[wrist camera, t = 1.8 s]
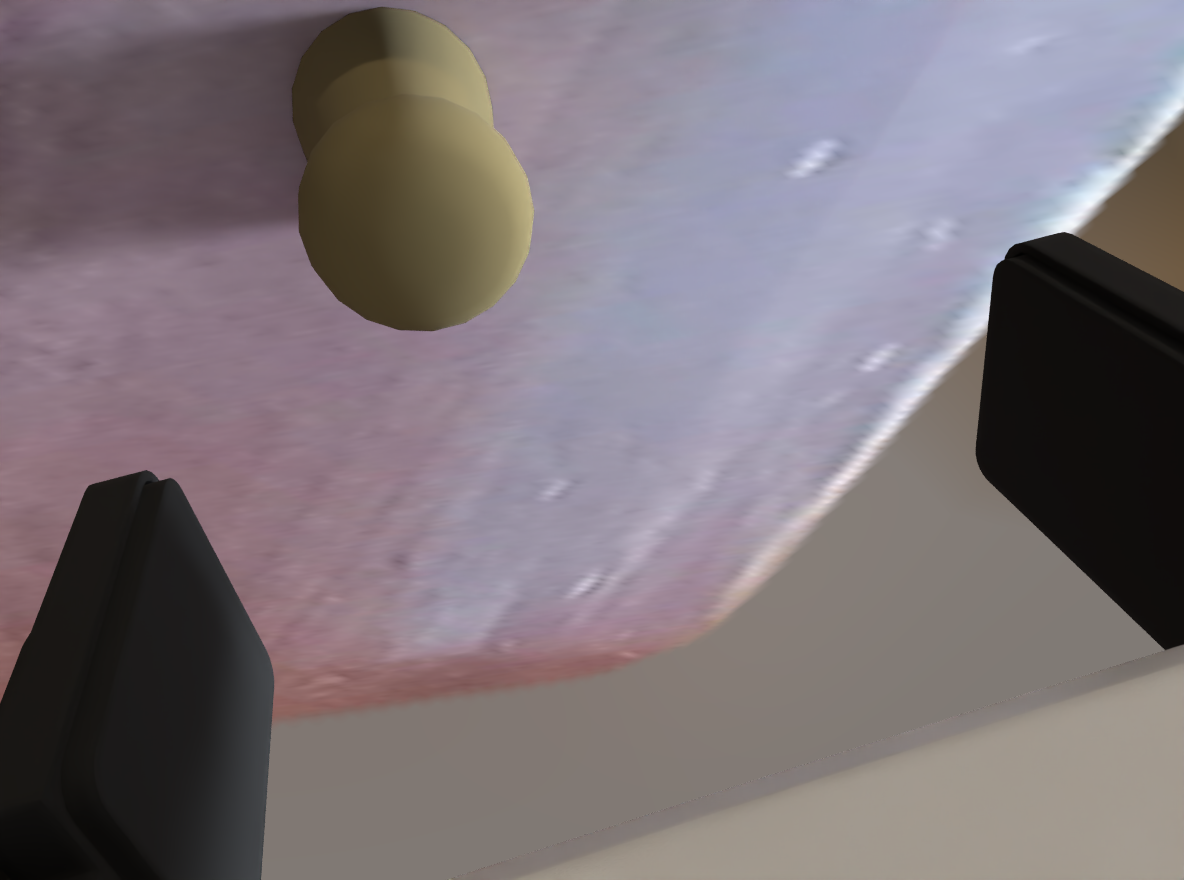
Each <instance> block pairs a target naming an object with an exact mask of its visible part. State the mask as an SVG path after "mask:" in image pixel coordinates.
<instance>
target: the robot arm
mask: <svg viewBox="0 0 1184 880" xmlns="http://www.w3.org/2000/svg"><path fill="white" fill-rule="evenodd" d="M976 458H977V462H978V465H979V468H980V470H981V472H982V473H983V475H984V476H985V478H986V479H987V480H988V481H989V482H990V483H991V484H992V485H993V486H994V487H995V488H996V489H997V490H998V491H999V492H1001V493H1002V494H1003V495H1004V496H1005V497H1006V498H1007V499H1008V500H1009V501H1010V502H1011V503H1012V504H1013V505H1014V506H1015V507H1016V508H1017V509H1018V510H1019V511H1020V512H1022V513H1023V514H1024V515H1025V516H1026V517H1027V518H1028V519H1029V520H1030V521H1031V522H1032V523H1033V524H1034V525H1035V526H1036V527H1037V528H1038V529H1039V530H1040V531H1041V532H1043V534H1044V535H1045V536H1047V537H1048V538H1049V539H1050V540H1051V541H1052V542H1053V543H1054V544H1055V545H1056V546H1057V547H1058V548H1059V549H1060V550H1061V551H1062V552H1063V553H1064V554H1065V555H1066V556H1067V557H1069V559H1071V560H1072V561H1073V562H1074V563H1075V564H1076V565H1077V566H1078V567H1079V568H1080V569H1081V570H1082V571H1083V572H1084V573H1086V575H1087V576H1088V577H1089V578H1090V579H1092V581H1094V582H1095V583H1096V584H1097V585H1098V586H1099V587H1100V588H1101V589H1102V590H1103V591H1104V592H1105V593H1106V594H1107V595H1108V596H1109V597H1110V598H1111V599H1112V600H1113V601H1114V602H1115V603H1117V604H1118V605H1119V606H1120V607H1121V608H1122V609H1123V610H1124V611H1125V612H1126V613H1127V614H1128V615H1129V616H1130V617H1131V618H1132V619H1133V620H1134V621H1135V622H1136V623H1137V624H1138V625H1140V626H1141V627H1142V628H1143V629H1144V630H1145V631H1146V632H1147V633H1148V634H1149V635H1150V636H1151V637H1152V638H1153V639H1154V640H1155V641H1156V642H1157V643H1158V644H1159V645H1160V646H1161V647H1163V648H1164V649H1165V650H1164V651H1161V652H1158V653H1155V654H1152V655H1148V656H1145V657H1142V658H1139V659H1136V660H1133V661H1129V662H1126V663H1123V664H1120V665H1116V666H1113V667H1110V668H1107V669H1104V670H1100V671H1097V672H1094V673H1091V674H1088V675H1085V676H1081V677H1078V678H1075V679H1072V680H1068V681H1065V682H1062V683H1059V684H1056V685H1053V686H1049V687H1046V688H1043V689H1040V690H1036V691H1034V692H1030V693H1027V694H1024V695H1021V696H1018V697H1014V698H1011V699H1008V700H1005V701H1002V702H999V703H995V704H992V705H989V706H986V707H983V708H980V709H977V710H973V711H970V712H967V713H964V714H961V715H957V716H954V717H951V718H948V719H945V720H942V721H939V722H936V723H932V724H929V725H926V726H923V727H920V728H917V729H913V730H910V731H907V732H904V733H901V734H898V735H894V736H891V737H888V738H885V739H882V740H879V741H876V742H872V743H869V744H866V745H863V746H860V747H857V748H854V749H851V750H847V751H845V752H841V753H838V754H835V755H832V756H829V757H825V758H822V759H819V760H816V761H813V762H810V763H807V764H804V765H800V766H797V767H794V768H791V769H788V770H785V771H782V772H778V773H775V774H772V775H769V776H766V777H763V778H760V779H757V780H753V781H750V782H747V783H744V784H741V785H738V786H735V787H731V788H728V789H725V790H722V791H719V792H716V793H713V794H710V795H707V796H703V797H700V798H698V799H694V800H691V801H688V802H685V803H682V804H679V805H676V806H673V807H670V808H666V809H664V810H660V811H657V812H654V813H651V814H648V815H645V816H642V817H639V818H636V819H632V820H630V821H627V822H623V823H621V824H617V825H614V826H611V827H608V828H605V829H602V830H599V831H595V832H593V833H590V834H586V835H584V836H580V837H577V838H574V839H571V840H568V841H565V842H562V843H558V844H555V845H552V846H549V847H546V848H543V849H540V850H537V851H534V852H531V853H528V854H525V855H521V856H518V857H515V858H512V859H509V860H506V861H503V862H500V863H497V864H494V865H491V866H487V867H484V868H481V869H478V870H475V871H472V872H469V873H466V874H463V875H460V876H457V877H454V878H451V879H447V880H1184V292H1183V291H1181V290H1179V289H1177V288H1175V287H1173V286H1171V285H1169V284H1167V283H1166V282H1164V281H1162V280H1160V279H1158V278H1156V277H1154V276H1152V275H1150V274H1148V273H1146V272H1144V271H1142V270H1140V269H1138V268H1136V267H1134V266H1133V265H1131V264H1128V263H1127V262H1125V261H1123V260H1121V259H1119V258H1117V257H1115V256H1113V255H1111V254H1109V253H1107V252H1105V251H1103V250H1101V249H1100V248H1097V247H1096V246H1094V245H1092V244H1090V243H1088V242H1086V241H1084V240H1082V239H1080V238H1078V237H1076V236H1074V235H1072V234H1069V233H1066V232H1062V233H1057V234H1053V235H1049V236H1045V237H1042V238H1038V239H1034V240H1030V241H1026V242H1022V243H1019V244H1015V245H1014V246H1012V247H1011V248H1010V249H1009V250H1008V252H1007V254H1006V256H1005V259H1004V260H1002V261H1001V262H1000V263H998V264H997V266H996V268H995V270H994V275H993V282H992V292H991V302H990V312H989V322H988V332H987V341H986V351H985V361H984V371H983V381H982V391H981V402H980V411H979V420H978V430H977V440H976ZM273 695H274V676H273V669H272V665H271V661H270V658H269V655H268V653H267V651H266V649H265V647H264V645H263V643H262V641H261V639H260V637H259V635H258V633H257V632H256V630H255V628H254V626H253V624H252V622H251V620H250V618H249V616H248V614H247V612H246V611H245V609H244V607H243V605H242V603H241V601H240V599H239V597H238V595H237V593H236V592H235V590H234V588H233V586H232V584H231V582H230V580H229V578H228V576H227V574H226V573H225V571H224V569H223V567H222V565H221V563H220V561H219V559H218V557H217V555H216V553H215V552H214V550H213V548H212V546H211V544H210V542H209V540H208V538H207V536H206V534H205V533H204V531H203V529H202V527H201V525H200V523H199V521H198V519H197V517H196V515H195V514H194V512H193V510H192V508H191V506H190V504H189V502H188V500H187V498H186V496H185V494H184V493H183V491H182V489H181V487H180V486H179V484H178V483H177V482H176V481H175V480H174V479H171V478H169V479H165V480H161V481H159V480H158V478H157V477H156V476H155V475H154V474H153V473H152V472H150V471H147V470H145V471H141V472H137V473H134V474H130V475H126V476H122V477H118V478H114V479H110V480H107V481H103V482H99V483H95V484H92V485H89V486H88V488H87V489H86V491H85V493H84V496H83V498H82V501H81V503H80V506H79V509H78V511H77V514H76V516H75V519H74V522H73V524H72V527H71V529H70V532H69V535H68V537H67V540H66V542H65V545H64V548H63V550H62V553H61V555H60V558H59V561H58V563H57V566H56V568H55V571H54V574H53V576H52V579H51V581H50V584H49V587H48V589H47V592H46V594H45V597H44V600H43V602H42V605H41V607H40V610H39V613H38V615H37V618H36V620H35V623H34V626H33V628H32V631H31V633H30V634H29V636H28V638H27V639H26V641H25V643H24V645H23V646H22V649H21V651H20V654H19V657H18V659H17V662H16V664H15V667H14V670H13V672H12V675H11V677H10V680H9V682H8V685H7V688H6V690H5V693H4V695H3V698H2V700H1V703H0V880H261V871H262V856H263V842H264V827H265V811H266V798H267V783H268V767H269V753H270V739H271V724H272V709H273Z"/></svg>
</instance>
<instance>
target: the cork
mask: <svg viewBox="0 0 1184 880" xmlns="http://www.w3.org/2000/svg"><path fill="white" fill-rule="evenodd" d="M292 108H293V123H294V126H295V129H296V132H297V135H298V138H299V140H300V143H301V146H302V149H303V152H304V154H305V157H306V159H307V165H306V168H305V171H304V174H303V177H302V180H301V183H300V186H299V192H298V211H299V233H300V236H301V238H302V241H303V244H304V247H305V249H306V252H307V255H308V258H309V260H310V263H311V266H312V267H313V268H314V270H315V271H316V273H317V274H318V275H319V276H320V278H321V279H322V280H323V281H324V283H325V284H326V285H327V287H328V288H329V289H330V290H331V292H332V293H333V294H334V295H335V297H336V298H337V299H338V300H339V301H340V302H342V303H343V304H345V305H346V306H348V307H349V308H350V309H352V310H353V311H355V312H356V313H358V314H359V315H361V316H362V317H364V318H365V319H367V320H370V321H373V322H376V323H379V324H382V325H385V326H388V327H391V328H394V329H397V330H414V331H435V330H439V329H443V328H447V327H451V326H455V325H459V324H463V323H466V322H467V321H469V320H471V319H472V318H474V317H476V316H477V315H479V314H481V313H482V312H484V311H486V310H488V309H489V308H491V307H493V306H494V305H495V304H496V303H497V301H498V300H499V299H500V298H501V297H502V296H503V295H504V294H505V293H506V292H507V290H508V289H509V288H510V287H511V286H512V285H513V284H514V283H515V281H516V279H517V277H518V275H519V273H520V271H521V268H522V266H523V264H524V262H525V260H526V258H527V255H528V253H529V249H530V241H531V233H532V224H533V216H534V208H533V203H532V198H531V193H530V189H529V184H528V179H527V176H526V174H525V172H524V170H523V169H522V167H521V165H520V163H519V162H518V160H517V158H516V156H515V155H514V153H513V151H512V150H511V148H510V146H509V144H508V143H507V141H506V140H505V138H504V137H503V136H502V135H501V134H499V133H498V132H497V131H496V130H495V129H494V128H493V114H492V105H491V101H490V96H489V92H488V87H487V82H486V78H485V76H484V74H483V72H482V70H481V68H480V67H479V65H478V63H477V61H476V60H475V58H474V56H473V54H472V53H471V51H470V49H469V48H468V47H467V46H466V45H465V44H464V43H463V42H462V41H461V40H460V39H459V38H458V37H457V36H455V35H454V34H453V33H452V32H451V31H450V30H449V29H448V28H447V27H446V26H445V25H443V24H441V23H439V22H437V21H434V20H432V19H430V18H428V17H426V16H424V15H422V14H420V13H418V12H416V11H411V10H403V9H395V8H387V7H378V8H374V9H369V10H364V11H360V12H355V13H351V14H348V15H346V16H345V17H343V18H342V19H340V20H339V21H337V22H335V23H334V24H332V25H331V26H329V27H328V28H326V29H324V30H323V31H321V33H320V34H319V35H318V37H317V38H316V39H315V41H314V42H313V43H312V45H311V46H310V47H309V48H308V50H307V51H306V52H305V54H304V55H303V56H302V58H301V62H300V65H299V68H298V71H297V74H296V77H295V81H294V84H293V87H292Z"/></svg>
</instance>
